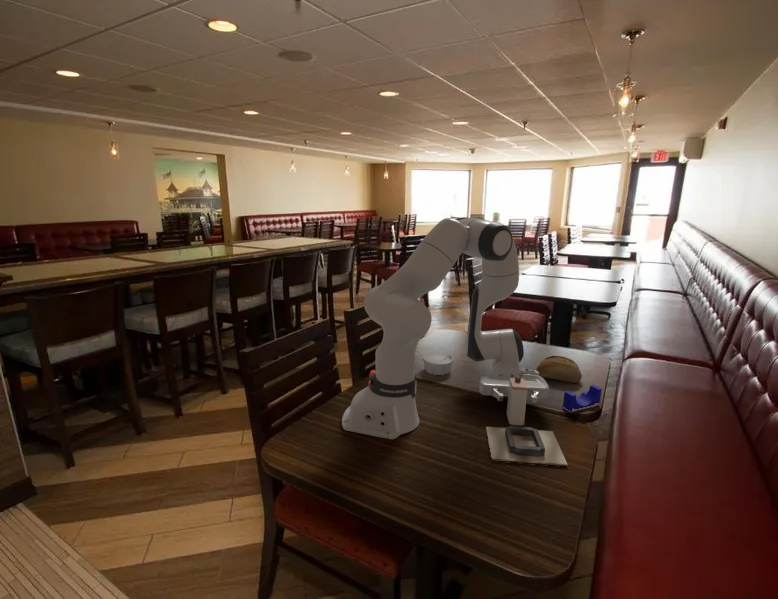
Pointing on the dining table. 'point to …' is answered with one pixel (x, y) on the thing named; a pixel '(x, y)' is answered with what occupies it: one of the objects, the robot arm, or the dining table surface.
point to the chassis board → (524, 445)
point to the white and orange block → (516, 401)
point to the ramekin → (437, 363)
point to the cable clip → (582, 398)
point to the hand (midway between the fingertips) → (517, 399)
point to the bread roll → (559, 369)
